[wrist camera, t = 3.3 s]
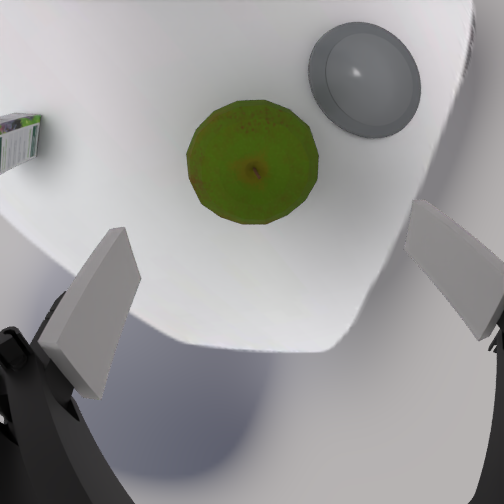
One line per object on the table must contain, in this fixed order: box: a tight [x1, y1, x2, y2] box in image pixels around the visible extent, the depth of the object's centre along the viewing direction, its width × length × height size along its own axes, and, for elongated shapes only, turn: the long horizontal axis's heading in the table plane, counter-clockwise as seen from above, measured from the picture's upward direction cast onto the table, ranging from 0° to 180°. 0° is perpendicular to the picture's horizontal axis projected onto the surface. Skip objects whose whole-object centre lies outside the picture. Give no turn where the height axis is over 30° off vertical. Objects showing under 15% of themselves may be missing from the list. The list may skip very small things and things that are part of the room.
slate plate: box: [308, 22, 421, 138], centre depth 24 cm, size 14×14×2 cm
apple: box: [186, 100, 319, 224], centre depth 24 cm, size 11×11×11 cm
